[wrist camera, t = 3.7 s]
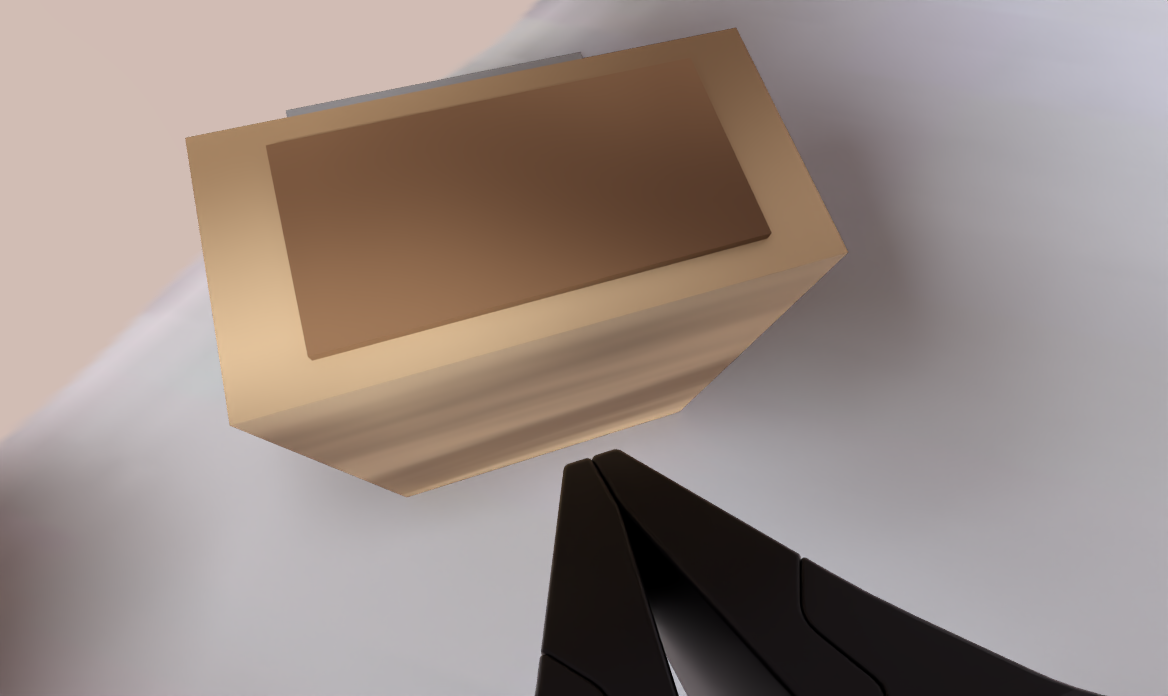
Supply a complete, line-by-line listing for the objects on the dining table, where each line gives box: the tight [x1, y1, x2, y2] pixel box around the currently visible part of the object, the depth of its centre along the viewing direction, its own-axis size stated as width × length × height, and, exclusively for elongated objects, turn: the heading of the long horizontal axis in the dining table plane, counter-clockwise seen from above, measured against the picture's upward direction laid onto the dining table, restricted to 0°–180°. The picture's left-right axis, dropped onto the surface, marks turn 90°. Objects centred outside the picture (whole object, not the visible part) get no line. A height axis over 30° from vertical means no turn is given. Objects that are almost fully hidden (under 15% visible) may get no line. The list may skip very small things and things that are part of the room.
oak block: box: [185, 28, 848, 497], centre depth 13 cm, size 4×8×10 cm, turn 108°
